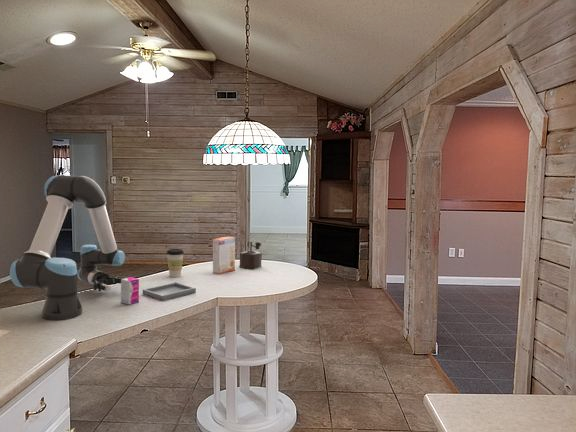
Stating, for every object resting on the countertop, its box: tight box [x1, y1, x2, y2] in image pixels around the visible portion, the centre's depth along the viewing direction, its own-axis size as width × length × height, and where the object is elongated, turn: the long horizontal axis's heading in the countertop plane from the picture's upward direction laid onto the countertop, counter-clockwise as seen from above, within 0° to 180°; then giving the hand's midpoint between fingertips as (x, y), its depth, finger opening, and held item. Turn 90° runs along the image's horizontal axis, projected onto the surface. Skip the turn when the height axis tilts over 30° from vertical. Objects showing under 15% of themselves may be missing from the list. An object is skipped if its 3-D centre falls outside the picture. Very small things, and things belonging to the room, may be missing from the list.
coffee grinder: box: [239, 240, 263, 270], centre depth 290 cm, size 16×11×18 cm
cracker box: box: [212, 235, 236, 275], centre depth 276 cm, size 14×6×21 cm, turn 144°
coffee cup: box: [165, 248, 185, 278], centre depth 263 cm, size 10×10×15 cm
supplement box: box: [120, 276, 140, 306], centre depth 209 cm, size 6×6×12 cm
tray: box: [142, 281, 197, 302], centre depth 227 cm, size 20×16×2 cm
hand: (123, 286), depth 214 cm, fingers open, 13 cm apart
